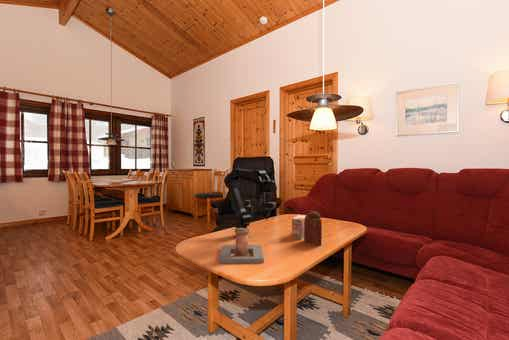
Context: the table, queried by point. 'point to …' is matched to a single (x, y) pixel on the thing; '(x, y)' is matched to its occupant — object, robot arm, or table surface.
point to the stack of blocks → (298, 227)
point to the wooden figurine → (313, 228)
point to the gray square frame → (232, 249)
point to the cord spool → (241, 242)
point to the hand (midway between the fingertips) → (259, 219)
